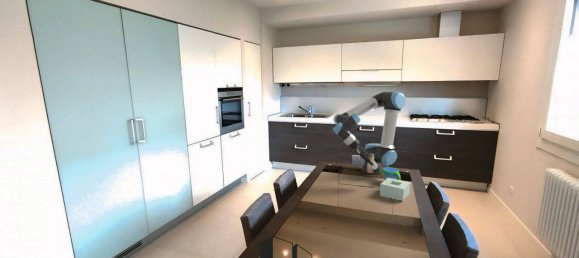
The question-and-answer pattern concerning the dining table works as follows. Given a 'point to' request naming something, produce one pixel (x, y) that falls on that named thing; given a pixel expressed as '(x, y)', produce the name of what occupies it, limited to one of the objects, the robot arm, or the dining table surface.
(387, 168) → the snack cup
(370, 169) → the wooden peg
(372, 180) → the dining table surface
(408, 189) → the block
